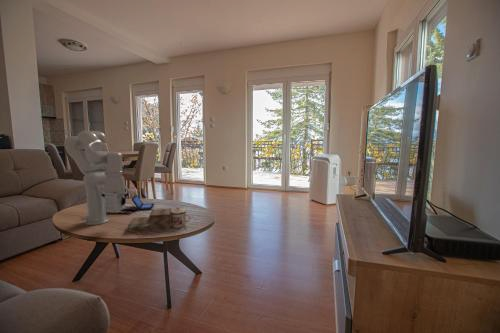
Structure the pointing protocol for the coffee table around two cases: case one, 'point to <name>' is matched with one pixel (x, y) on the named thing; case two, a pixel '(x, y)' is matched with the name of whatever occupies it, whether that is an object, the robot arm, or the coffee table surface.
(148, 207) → the handheld game console
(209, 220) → the coffee table surface
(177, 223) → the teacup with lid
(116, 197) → the light bulb box
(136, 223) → the step stand
